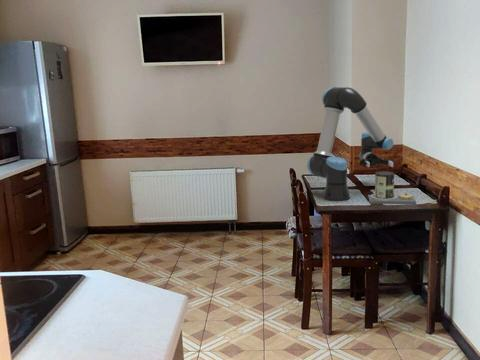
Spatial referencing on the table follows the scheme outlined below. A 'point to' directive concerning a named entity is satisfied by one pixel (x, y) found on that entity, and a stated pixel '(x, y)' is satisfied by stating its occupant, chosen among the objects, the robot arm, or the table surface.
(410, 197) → the gear board
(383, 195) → the coffee can
